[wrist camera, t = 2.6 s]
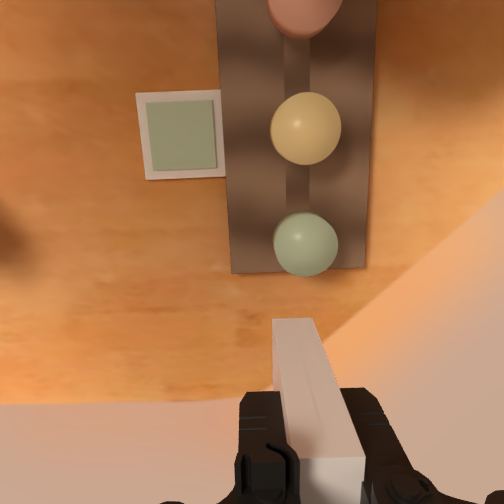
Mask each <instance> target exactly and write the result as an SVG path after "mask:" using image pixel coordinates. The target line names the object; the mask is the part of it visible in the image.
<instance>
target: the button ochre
mask: <svg viewBox="0 0 504 504" xmlns="http://www.w3.org/2000/svg"><path fill="white" fill-rule="evenodd" d="M340 134H341V120H340V116H339V113H338V111H337V109H336V107H335V106H334V104H333V103H332V102H331V101H330V100H329V99H327V98H326V97H324V96H322V95H320V94H317V93H313V92H303V93H299V94H296V95H293V96H292V97H290V98H288V99H287V100H286V101H285V102H283V103H282V104H281V105H280V106H279V107H278V108H277V110H276V111H275V113H274V115H273V117H272V119H271V123H270V138H271V142H272V144H273V146H274V148H275V150H276V151H277V152H278V153H279V155H281V156H282V157H283V158H285V159H286V160H289V161H291V162H293V163H296V164H300V165H311V164H315V163H318V162H320V161H322V160H324V159H325V158H326V157H328V156H329V155H330V154H331V153H332V152H333V150H334V149H335V147H336V146H337V144H338V141H339V138H340Z"/></svg>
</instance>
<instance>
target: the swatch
mask: <svg viewBox="0 0 504 504" xmlns="http://www.w3.org/2000/svg"><path fill="white" fill-rule="evenodd" d="M135 96H136V104H137V112H138V120H139V129H140V137H141V145H142V153H143V162H144V170H145V178H146V180H155V179H177V178H200V177H222V176H226V174H225V157H224V141H223V124H222V108H221V91H220V89H217V90H193V91H168V92H143V93H135Z"/></svg>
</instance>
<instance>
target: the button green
mask: <svg viewBox="0 0 504 504" xmlns="http://www.w3.org/2000/svg"><path fill="white" fill-rule="evenodd" d="M273 247H274V250H275V254H276V257H277V259H278V261H279V263H280V265H281V266H282V267H283V268H284V269H285V270H286V271H287V272H289V273H291V274H293V275H296V276H301V277H310V276H314V275H317V274H319V273H321V272H323V271H325V270H326V269H327V268H328V267H329V266H330V265H331V264H332V262H333V261H334V259H335V257H336V255H337V251H338V239H337V236H336V233H335V231H334V229H333V228H332V227H331V226H330V224H329V223H327V222H326V221H325V220H324V219H323V218H322V217H321V216H320V215H318V214H317V213H314V212H312V211H307V210H299V211H294V212H291V213H289V214H287V215H286V216H284V217H283V218H282V219H281V220H280V221H279V222H278V224H277V225H276V227H275V229H274V233H273Z"/></svg>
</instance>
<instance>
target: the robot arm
mask: <svg viewBox="0 0 504 504" xmlns="http://www.w3.org/2000/svg"><path fill="white" fill-rule="evenodd" d="M272 371H273V389H274V391H263V392H247V393H246V394H245V396H244V397H243V399H242V401H241V402H240V408H239V410H240V412H239V446H238V448H239V449H238V453H237V456H236V460H235V463H234V465H235V486H234V488H233V490H232V491H231V492H230V494H229V495H228V496H227V497H226V498H225V499H223V500H222V501H221V502H219V503H217V504H476V503H472V502H468V501H464V500H460V499H457V498H453V497H450V496H447V495H444V494H442V493H441V492H439V491H438V490H437V489H436V487H435V486H434V485H433V484H432V482H431V481H430V480H429V479H428V478H427V477H425V476H424V475H422V474H421V473H420V472H419V471H416V470H414V469H413V467H412V465H411V463H410V462H409V460H408V458H407V456H406V454H405V452H404V450H403V448H402V446H401V444H400V443H399V440H398V438H397V436H396V435H395V433H394V431H393V429H392V427H391V426H390V424H389V421H388V419H387V417H386V415H385V414H384V411H383V410H382V407H381V406H380V404H379V402H378V400H377V398H376V397H374V396H373V395H372V394H371V393H370V392H369V391H368V390H366V389H365V388H339V386H338V384H337V381H336V378H335V376H334V373H333V371H332V368H331V365H330V363H329V360H328V358H327V355H326V352H325V350H324V347H323V345H322V342H321V339H320V337H319V334H318V332H317V329H316V326H315V324H314V321H313V319H312V317H310V318H272ZM161 504H184V503H181V502H175V501H173V502H171V501H166V502H163V503H161ZM485 504H504V490H498V491H494V492H492V493H491V494H489V495H488V496H487V498H486V501H485Z"/></svg>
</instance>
